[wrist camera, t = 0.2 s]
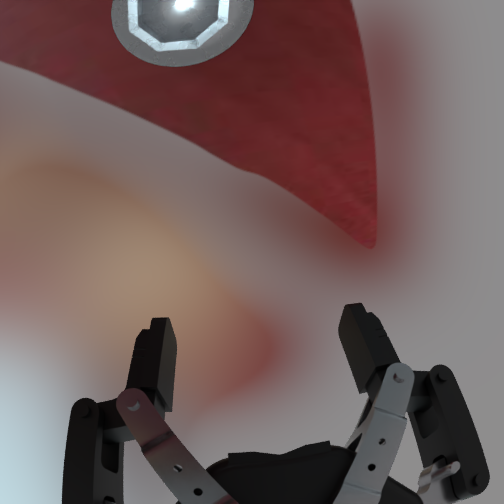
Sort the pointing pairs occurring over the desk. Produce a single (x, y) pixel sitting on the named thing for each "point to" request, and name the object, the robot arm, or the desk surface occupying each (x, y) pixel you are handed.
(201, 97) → the desk surface
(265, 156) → the desk surface
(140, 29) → the steel collar
